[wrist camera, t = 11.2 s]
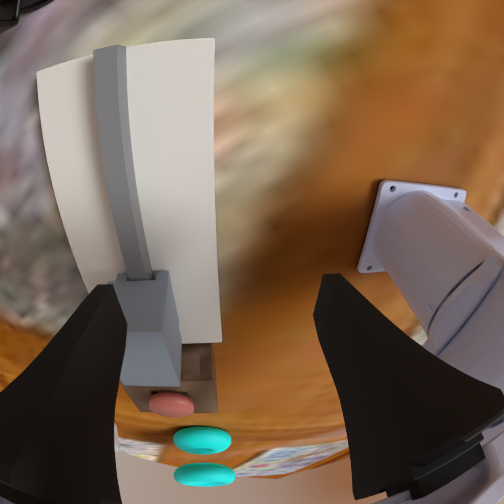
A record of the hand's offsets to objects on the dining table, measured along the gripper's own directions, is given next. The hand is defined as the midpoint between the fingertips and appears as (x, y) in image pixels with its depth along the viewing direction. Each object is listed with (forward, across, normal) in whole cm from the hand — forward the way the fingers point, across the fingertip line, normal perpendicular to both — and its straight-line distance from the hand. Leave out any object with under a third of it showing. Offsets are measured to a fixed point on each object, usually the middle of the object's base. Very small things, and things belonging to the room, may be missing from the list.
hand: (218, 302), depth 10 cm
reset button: (+8, +5, +17) cm, 19 cm away
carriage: (+8, +5, +7) cm, 12 cm away
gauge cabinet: (+9, +5, +17) cm, 20 cm away
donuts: (+10, +5, +43) cm, 44 cm away
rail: (+9, +5, +2) cm, 11 cm away
